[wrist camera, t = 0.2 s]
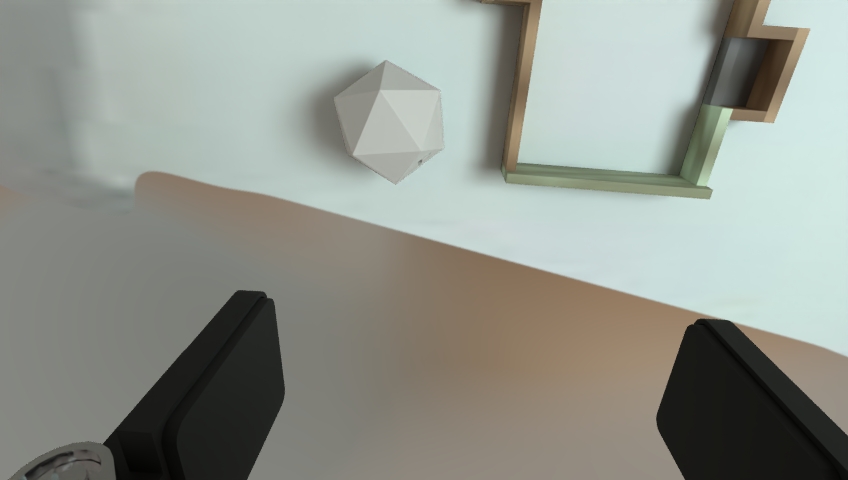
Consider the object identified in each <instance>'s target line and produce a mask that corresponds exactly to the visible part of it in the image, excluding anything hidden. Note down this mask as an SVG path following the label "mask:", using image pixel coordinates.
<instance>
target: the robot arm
mask: <svg viewBox="0 0 848 480" xmlns="http://www.w3.org/2000/svg"><path fill="white" fill-rule="evenodd" d="M284 394H285V387H284V379H283V370H282V362H281V354H280V345H279V337H278V329H277V321H276V314H275V305H274V301H273V299H270V298H267V296H266V294H265V293H264V292H261V291H245V290H244V291H243V290H238V291H237V292H235V293H234V295H233V296H232V297H231V298H230V299H229V300H228V301H227V303H226V304H225V305H224V306H223V307H222V308H221V309H220V311H219V312H218V313H217V314H216V315H215V316H214V318H213V319H212V320H211V321H210V322H209V323H208V325H207V326H206V327H205V328H204V329H203V330H202V331H201V333H200V334H199V335H198V336H197V337H196V338H195V340H194V341H193V342H192V343H191V344H190V345H189V346H188V347H187V349H186V350H185V351H183V353H182V354H181V355H180V356H179V357H178V358H177V359H176V361H175V362H174V363H173V364H172V365H171V366H170V367H169V369H168V370H167V371H166V372H165V373H164V374H163V375H162V377H161V378H160V379H159V380H158V381H157V382H156V384H155V385H154V386H153V387H152V388H151V389H150V390H149V391H148V393H147V394H146V395H145V396H144V397H143V398H142V400H141V401H140V402H139V403H138V404H137V405H136V407H135V408H134V409H133V410H132V411H131V412H130V413H129V414H128V416H127V417H126V418H125V419H124V420H123V421H122V422H121V424H120V425H119V426H118V427H117V428H116V429H115V431H114V432H113V433H112V434H111V435H110V436H109V438H108V439H107V440H106V441H105V442H104V443H103V444H101V443H95V442H89V441H88V442H79V443H72V444H69V445H66V446H62V447H59V448H56V449H54V450H52V451H49V452H47V453H45V454H43V455H41V456H39V457H37V458H36V459H34V460H32V461H31V462H29V463H28V464H26V465H25V466H23V467H22V468H21V469H20V470H18V471H17V472H16V473H15V474H14V475H13V476H12V477H11V478H9V479H8V480H247V479H248V476H249V474H250V472H251V470H252V468H253V466H254V464H255V461H256V459H257V457H258V455H259V453H260V451H261V449H262V446H263V444H264V442H265V440H266V438H267V436H268V434H269V431H270V429H271V427H272V425H273V423H274V421H275V418H276V417H277V414H278V412H279V410H280V408H281V406H282V403H283V400H284ZM656 421H657V427H658V430H659V432H660V434H661V436H662V438H663V440H664V442H665V443H666V445H667V447H668V449H669V451H670V452H671V455H672V456H673V458H674V460H675V462H676V464H677V466H678V468H679V469H680V471H681V473H682V475H683V477H684V479H685V480H848V436H847V435H846V434H845V433H844V432H843V431H842V430H841V429H840V428H839V427H838V426H837V425H836V424H835V423H834V422H833V421H832V420H831V419H830V418H829V417H828V416H827V415H826V414H825V413H824V412H823V411H822V410H821V409H820V408H819V407H818V406H817V405H816V404H814V402H813V401H812V400H811V399H810V398H809V397H808V396H807V395H806V394H805V393H804V392H803V391H802V390H800V388H799V387H798V386H797V385H795V384H794V383H793V382H792V381H791V380H790V379H789V378H788V377H787V376H786V375H785V374H784V373H783V372H782V371H781V370H780V369H779V368H778V367H777V366H776V365H775V364H774V363H773V362H772V361H771V360H770V359H769V358H768V357H767V356H766V355H765V354H764V353H763V352H762V351H761V350H760V349H759V348H758V347H757V346H756V345H755V344H754V343H753V342H752V341H751V340H750V339H749V338H748V337H747V336H745V334H744V333H742V332H741V330H739V329H738V328H737V327H736V326H735V325H734V324H733V323H732V322H731V321H728V320H718V319H698V320H697V321H696V322H695V323H694V325H693V324H692V325H689V326H688V327H687V329H686V331H685V334H684V337H683V340H682V342H681V345H680V348H679V351H678V354H677V357H676V360H675V363H674V366H673V369H672V372H671V375H670V377H669V380H668V383H667V386H666V389H665V392H664V395H663V398H662V401H661V404H660V406H659V410H658V412H657V417H656Z"/></svg>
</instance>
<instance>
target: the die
mask: <svg viewBox="0 0 848 480" xmlns="http://www.w3.org/2000/svg"><path fill="white" fill-rule="evenodd" d="M333 99H334V103H335V107H336V111H337V115H338V119H339V123H340V127H341V131H342V135H343V139H344V143H345V147H346V151H347V154H348V155H349V156H351V157H353V158H354V159H356V160H357V161H359V162H361V163H362V164H364V165H365V166H367V167H368V168H370V169H372V170H373V171H375V172H376V173H378V174H380V175H381V176H383V177H384V178H386V179H387V180H389V181H391V182H392V183H394V184H395V185H396V184H397V183H399V182H400V181H401V180H403V179H404V178H405V177H407V176H408V175H409V174H411V173H412V172H413V171H415V170H416V169H417V168H419V167H420V166H421V165H423V164H424V163H425V162H427V161H428V160H429V159H431V158H432V157H433V156H435V155H436V154H437V153H439V152H440V151H441V150H442V149H444V136H443V121H442V105H441V90H439V89H437V88H436V87H434V86H432V85H430V84H428V83H427V82H425V81H423V80H421V79H420V78H418V77H416V76H414V75H412V74H411V73H409V72H407V71H405V70H404V69H402V68H400V67H398V66H396V65H395V64H393V63H391V62H389V61H388V60H385V61H384V62H382V63H381V64H379V65H378V66H377V67H375V68H374V69H373V70H371V71H370V72H368V73H367V74H366V75H364V76H363V77H362V78H360V79H359V80H357V81H356V82H355V83H353V84H352V85H351V86H349V87H348V88H346V89H345V90H344V91H342V92H341V93H340V94H338V95H337V96H335V97H334V98H333Z"/></svg>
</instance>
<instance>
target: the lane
mask: <svg viewBox="0 0 848 480" xmlns="http://www.w3.org/2000/svg"><path fill="white" fill-rule="evenodd" d="M770 1H771V0H735V1H734V4H733V8H732V11H731V14H730V17H729V20H728V23H727V26H726V30H725V33H724V36H723V39H722V42H721V45H720V49H719V52H718V55H717V58H716V61H715V64H714V67H713V71H712V74H711V77H710V80H709V83H708V86H707V90H706V93H705V96H704V99H703V102H702V105H701V108H700V112H699V115H698V118H697V121H696V124H695V127H694V130H693V134H692V137H691V140H690V143H689V146H688V149H687V153H686V156H685V159H684V162H683V165H682V168H681V171H680V175H679V176H678V175H665V174H653V173H640V172H627V171H615V170H602V169H589V168H577V167H564V166H551V165H538V164H526V163H517V159H518V152H519V146H520V140H521V133H522V127H523V121H524V114H525V108H526V102H527V95H528V89H529V82H530V76H531V70H532V63H533V57H534V51H535V44H536V38H537V31H538V25H539V19H540V12H541V6H542V0H481V3H489V4H503V5H517V6H524V12H523V19H522V26H521V33H520V40H519V47H518V54H517V61H516V68H515V75H514V82H513V89H512V96H511V103H510V110H509V117H508V124H507V131H506V138H505V145H504V152H503V159H502V166H501V172H502V174H503V177H504V179H505V182H506V183H512V184H525V185H537V186H550V187H562V188H575V189H587V190H600V191H612V192H625V193H637V194H650V195H662V196H675V197H687V198H700V199H710V197H711V194H712V191H713V190H712V189H710V188H709V187H707V183H708V180H709V177H710V174H711V171H712V168H713V166H714V163H715V160H716V157H717V154H718V151H719V148H720V145H721V142H722V140H723V137H724V134H725V131H726V128H727V125H728V122H729V120H741V121H754V122H767V123H774V121H775V119H776V116H777V113H778V111H779V108H780V106H781V103H782V101H783V98H784V95H785V93H786V90H787V88H788V85H789V83H790V80H791V77H792V75H793V72H794V70H795V67H796V65H797V62H798V59H799V57H800V54H801V52H802V49H803V47H804V44H805V41H806V39H807V36H808V34H809V31H810V29H807V28H793V27H779V26H765V25H762V24H763V22H764V19H765V16H766V13H767V10H768V7H769V4H770Z"/></svg>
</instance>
